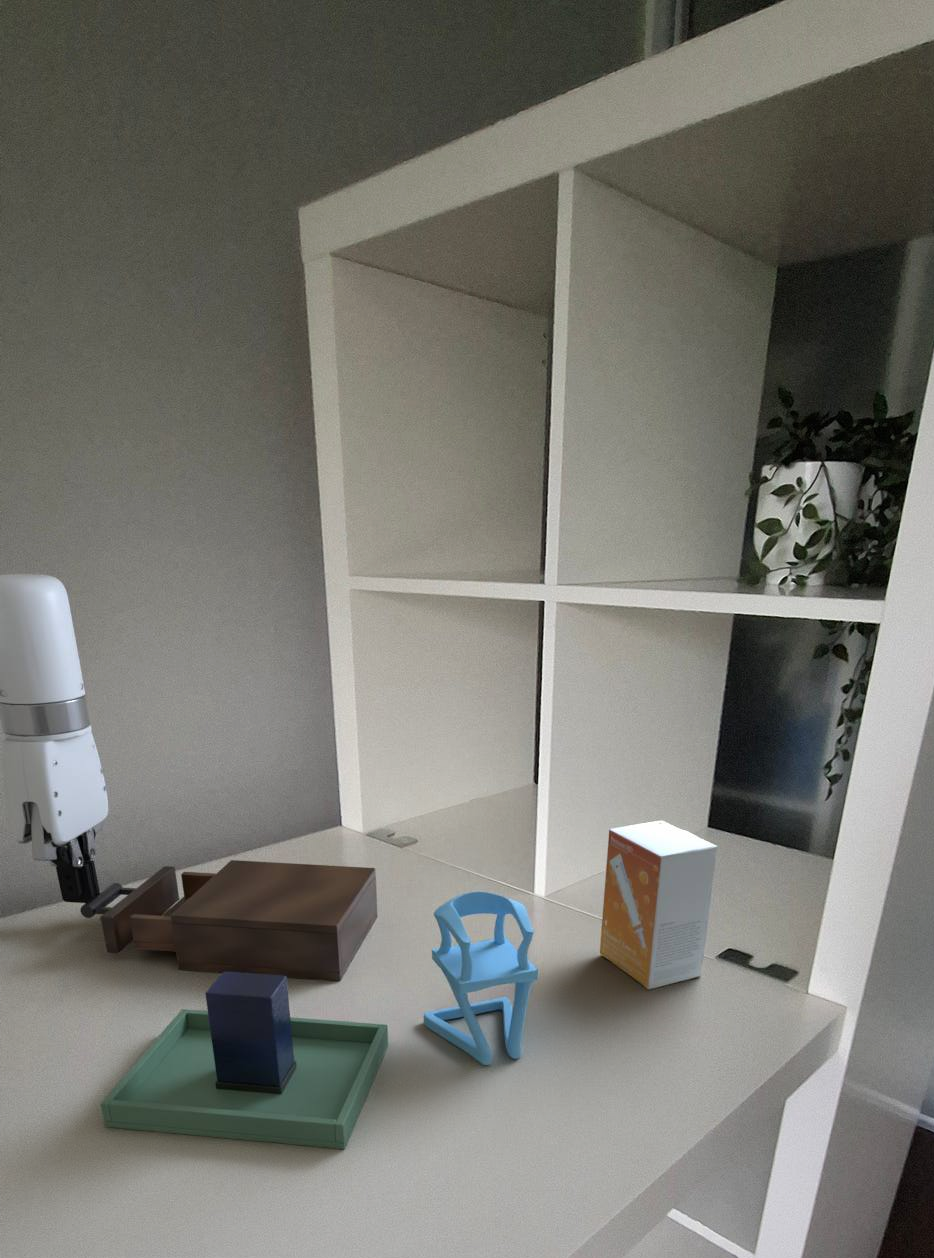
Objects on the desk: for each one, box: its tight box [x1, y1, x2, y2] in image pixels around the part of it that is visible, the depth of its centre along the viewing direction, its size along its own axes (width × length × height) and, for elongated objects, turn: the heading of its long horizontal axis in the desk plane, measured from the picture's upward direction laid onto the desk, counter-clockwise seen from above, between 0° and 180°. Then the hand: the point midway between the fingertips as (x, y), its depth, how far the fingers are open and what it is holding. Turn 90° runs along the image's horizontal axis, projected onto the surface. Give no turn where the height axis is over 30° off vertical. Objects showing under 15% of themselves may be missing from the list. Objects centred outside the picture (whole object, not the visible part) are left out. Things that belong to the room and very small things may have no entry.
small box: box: [599, 820, 718, 990], centre depth 83 cm, size 8×6×13 cm
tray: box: [100, 1008, 389, 1150], centre depth 68 cm, size 17×13×2 cm
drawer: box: [79, 866, 217, 955], centre depth 90 cm, size 19×13×4 cm
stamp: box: [204, 971, 297, 1094], centre depth 66 cm, size 5×4×8 cm
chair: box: [423, 890, 539, 1066], centre depth 72 cm, size 8×8×12 cm
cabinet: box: [171, 859, 378, 982], centre depth 89 cm, size 16×15×6 cm
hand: (81, 899), depth 92 cm, fingers closed
